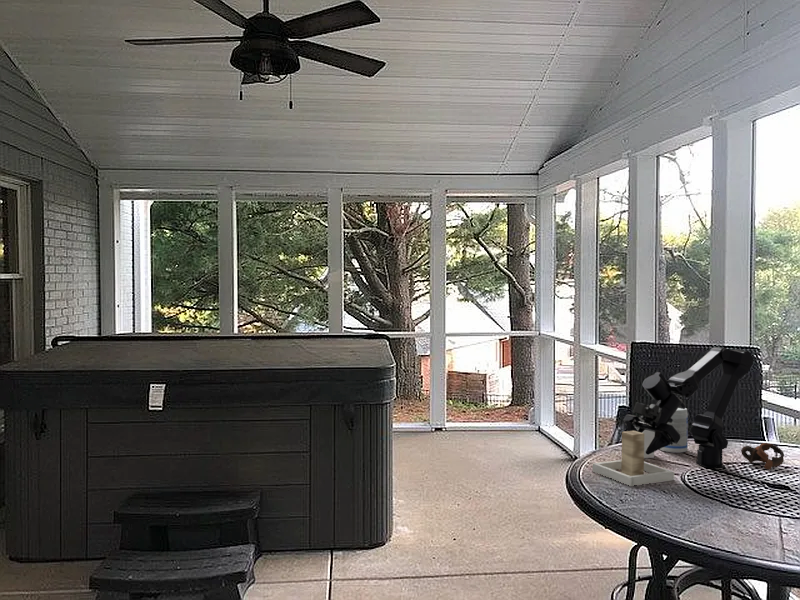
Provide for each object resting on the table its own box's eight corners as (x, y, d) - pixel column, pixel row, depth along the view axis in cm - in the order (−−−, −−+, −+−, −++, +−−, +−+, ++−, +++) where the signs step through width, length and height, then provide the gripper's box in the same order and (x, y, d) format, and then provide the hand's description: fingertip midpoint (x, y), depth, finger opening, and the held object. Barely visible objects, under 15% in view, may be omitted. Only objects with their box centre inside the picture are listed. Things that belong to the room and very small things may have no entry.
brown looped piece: (774, 464, 223) (785, 445, 219) (778, 484, 215) (788, 465, 211) (735, 452, 226) (745, 433, 222) (737, 471, 218) (747, 452, 214)
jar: (660, 456, 230) (661, 420, 230) (647, 460, 225) (647, 423, 225) (636, 450, 237) (637, 416, 237) (622, 454, 232) (623, 419, 232)
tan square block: (632, 473, 210) (633, 430, 209) (643, 477, 205) (644, 433, 205) (621, 474, 208) (621, 431, 207) (631, 478, 204) (632, 434, 203)
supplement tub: (693, 452, 235) (694, 409, 235) (668, 454, 233) (669, 410, 232) (675, 446, 244) (676, 404, 244) (651, 447, 242) (652, 405, 242)
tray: (634, 466, 217) (634, 458, 217) (674, 480, 202) (674, 471, 202) (592, 471, 211) (592, 463, 211) (630, 486, 196) (630, 477, 196)
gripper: (627, 388, 217) (599, 426, 213) (673, 398, 200) (643, 439, 196) (647, 411, 220) (619, 449, 216) (693, 422, 203) (664, 464, 199)
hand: (635, 450), depth 207 cm, fingers open, 9 cm apart
